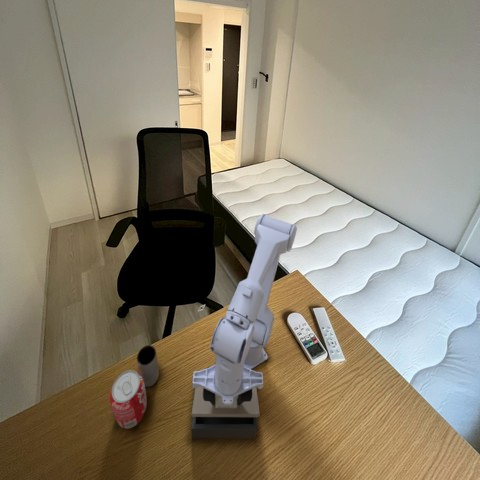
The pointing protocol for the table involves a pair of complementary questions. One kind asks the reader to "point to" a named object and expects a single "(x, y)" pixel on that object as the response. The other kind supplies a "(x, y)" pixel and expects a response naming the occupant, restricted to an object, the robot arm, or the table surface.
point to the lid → (224, 406)
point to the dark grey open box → (224, 427)
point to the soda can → (128, 399)
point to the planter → (148, 365)
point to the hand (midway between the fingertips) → (226, 399)
